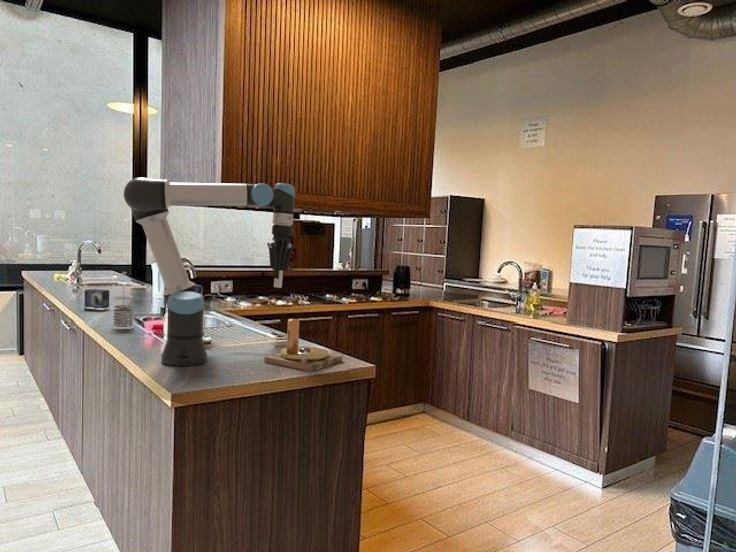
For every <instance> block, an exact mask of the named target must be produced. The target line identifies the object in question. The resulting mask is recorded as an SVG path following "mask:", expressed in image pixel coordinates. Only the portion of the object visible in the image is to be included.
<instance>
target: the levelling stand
mask: <svg viewBox="0 0 736 552" xmlns="http://www.w3.org/2000/svg"><path fill="white" fill-rule="evenodd" d="M280 354H281V352H278V353H273V354H269V355H266V356H264V363H266V364H267V363H268V364H270V363H271V365H275V364H276V365H277V366H280V365H282V366H281V367H285V366H288V367H287V368H290V367H294V368H293V369H295V368H299V369H298V370H300V369H303V370H302V371H305V370H309V371H308V372H310V371H311V372H313V371H312V370H314V371H316V370H315V369H317V368H320V367H323V368H325V367H324V366H326V367H328V366H327V365H329V366H331V365H330V364H332V365H334V364H333V363H335V364H337V363H336V362H338V363H340V362H339V361H341V362H343V359H344V358H343V355H339V354H334V353H329V352H328V357H327V358H326V359H322V360H316V361H307V354H304V353H301V361H297V360H290V359H286V358H283V357H281V355H280ZM320 369H321V368H320ZM317 370H318V369H317Z"/></svg>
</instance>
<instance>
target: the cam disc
mask: <svg viewBox="0 0 736 552" xmlns="http://www.w3.org/2000/svg"><path fill="white" fill-rule="evenodd" d="M286 331H287V332H286V334H287V336H286V347H284V348H281V350H280V353H281V354H280V355H281V357H283V358H286V359H290V360H297V361H301V353H304V354H307V361H316V360H322V359H326V358H327V357H328V353H329V350H327V349H324V348H321V347H316V346H304V345H301V346H299V338H300V319H298V318H287V330H286Z"/></svg>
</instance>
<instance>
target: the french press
mask: <svg viewBox="0 0 736 552" xmlns="http://www.w3.org/2000/svg"><path fill="white" fill-rule="evenodd" d="M121 275H123V276H125V275H127V272H126V271H122V272H121ZM122 292H123V293H119V294H116V295H114V296H113V299H114V300H122V302H123V303H122V304H120V305H119V304H117V305H114V308H116V309H113V326H116V327H128V326H127V324H128V325H129V327H130V326H134V325H133V321H134V320H133V319H134V317H133V316H134V313H135V308H134V304H133V302H132V301H129V302H128V301H126V303H125V302H124V301H125V300H133V299H134V296H133V295H131V294H128V293H125V285H123V291H122ZM124 303H125V304H124ZM120 324H121V325H120ZM113 326H112V327H113Z"/></svg>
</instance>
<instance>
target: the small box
mask: <svg viewBox="0 0 736 552" xmlns="http://www.w3.org/2000/svg"><path fill="white" fill-rule="evenodd" d="M85 307H94V308H107V307H109V308H110V290H109V289H99V288H90V289H85V290H84V308H85Z"/></svg>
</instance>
